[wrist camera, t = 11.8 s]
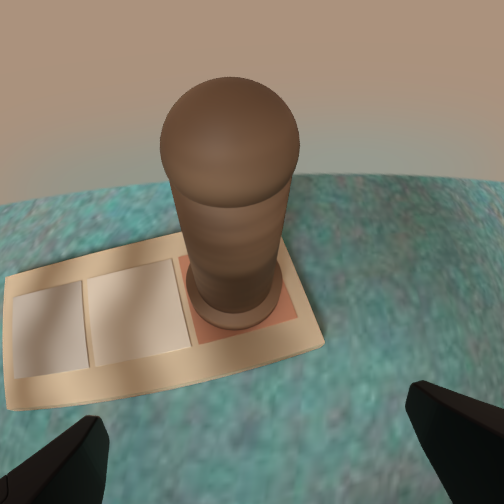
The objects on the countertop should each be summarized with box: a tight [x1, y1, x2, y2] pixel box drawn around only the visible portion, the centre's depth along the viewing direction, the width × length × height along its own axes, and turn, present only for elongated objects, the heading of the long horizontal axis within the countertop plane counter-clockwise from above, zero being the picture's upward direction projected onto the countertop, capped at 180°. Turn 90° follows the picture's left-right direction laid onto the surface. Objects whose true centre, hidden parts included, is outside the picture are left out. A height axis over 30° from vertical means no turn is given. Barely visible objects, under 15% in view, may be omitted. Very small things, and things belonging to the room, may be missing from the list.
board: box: [3, 232, 325, 411], centre depth 19 cm, size 21×10×1 cm, turn 107°
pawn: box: [160, 77, 300, 331], centre depth 14 cm, size 6×6×13 cm
